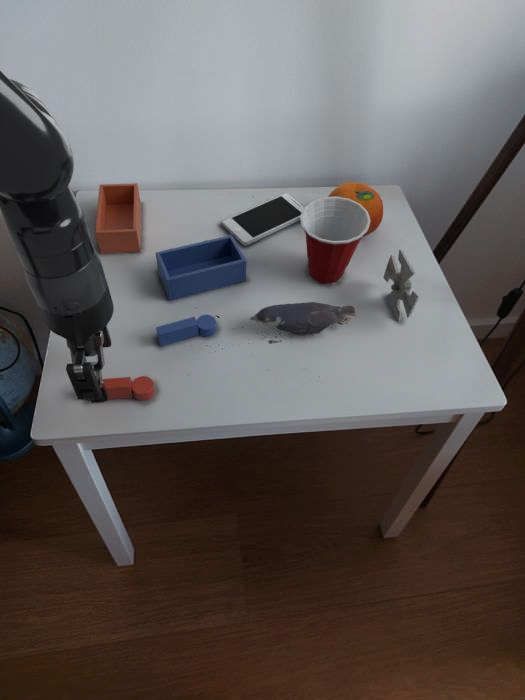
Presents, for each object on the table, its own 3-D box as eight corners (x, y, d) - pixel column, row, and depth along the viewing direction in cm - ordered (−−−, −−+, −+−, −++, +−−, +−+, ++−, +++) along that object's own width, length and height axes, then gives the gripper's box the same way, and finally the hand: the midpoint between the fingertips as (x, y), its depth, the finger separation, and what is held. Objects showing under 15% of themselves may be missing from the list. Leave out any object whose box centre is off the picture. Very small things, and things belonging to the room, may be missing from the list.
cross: (411, 330, 81) (431, 286, 73) (396, 332, 81) (414, 288, 73) (387, 284, 87) (403, 238, 79) (373, 286, 87) (387, 240, 79)
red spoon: (88, 405, 70) (83, 394, 68) (89, 386, 72) (85, 375, 69) (155, 400, 71) (152, 389, 69) (155, 382, 73) (152, 371, 70)
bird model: (356, 335, 80) (362, 314, 76) (251, 344, 78) (252, 323, 74) (349, 314, 83) (355, 293, 79) (247, 321, 80) (248, 300, 76)
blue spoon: (162, 350, 76) (160, 338, 74) (156, 335, 78) (154, 323, 76) (218, 333, 79) (218, 322, 76) (212, 319, 80) (212, 308, 78)
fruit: (310, 223, 96) (316, 187, 89) (348, 203, 100) (356, 167, 94) (350, 255, 91) (360, 218, 85) (389, 232, 95) (400, 196, 89)
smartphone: (221, 224, 94) (221, 220, 93) (286, 196, 100) (286, 192, 99) (244, 246, 91) (244, 242, 90) (309, 215, 97) (310, 211, 96)
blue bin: (169, 300, 82) (167, 280, 78) (158, 273, 86) (155, 252, 82) (245, 281, 86) (246, 260, 82) (231, 255, 89) (232, 234, 86)
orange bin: (140, 251, 89) (136, 231, 85) (100, 253, 88) (95, 232, 84) (140, 204, 96) (137, 183, 93) (104, 205, 96) (99, 184, 92)
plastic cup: (284, 256, 90) (291, 199, 80) (341, 247, 92) (354, 190, 83) (304, 300, 84) (314, 244, 74) (364, 289, 86) (382, 234, 76)
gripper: (41, 241, 58) (77, 331, 71) (22, 341, 49) (66, 422, 62) (109, 238, 58) (132, 327, 71) (102, 335, 50) (129, 416, 63)
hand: (101, 371), depth 67 cm, fingers open, 8 cm apart
